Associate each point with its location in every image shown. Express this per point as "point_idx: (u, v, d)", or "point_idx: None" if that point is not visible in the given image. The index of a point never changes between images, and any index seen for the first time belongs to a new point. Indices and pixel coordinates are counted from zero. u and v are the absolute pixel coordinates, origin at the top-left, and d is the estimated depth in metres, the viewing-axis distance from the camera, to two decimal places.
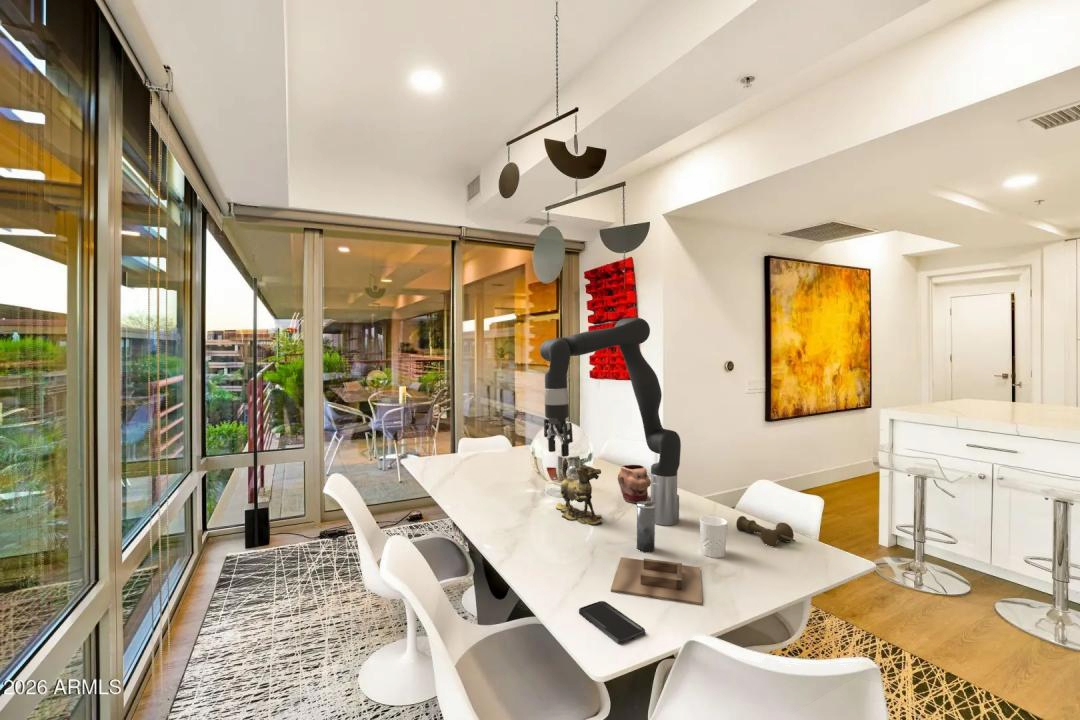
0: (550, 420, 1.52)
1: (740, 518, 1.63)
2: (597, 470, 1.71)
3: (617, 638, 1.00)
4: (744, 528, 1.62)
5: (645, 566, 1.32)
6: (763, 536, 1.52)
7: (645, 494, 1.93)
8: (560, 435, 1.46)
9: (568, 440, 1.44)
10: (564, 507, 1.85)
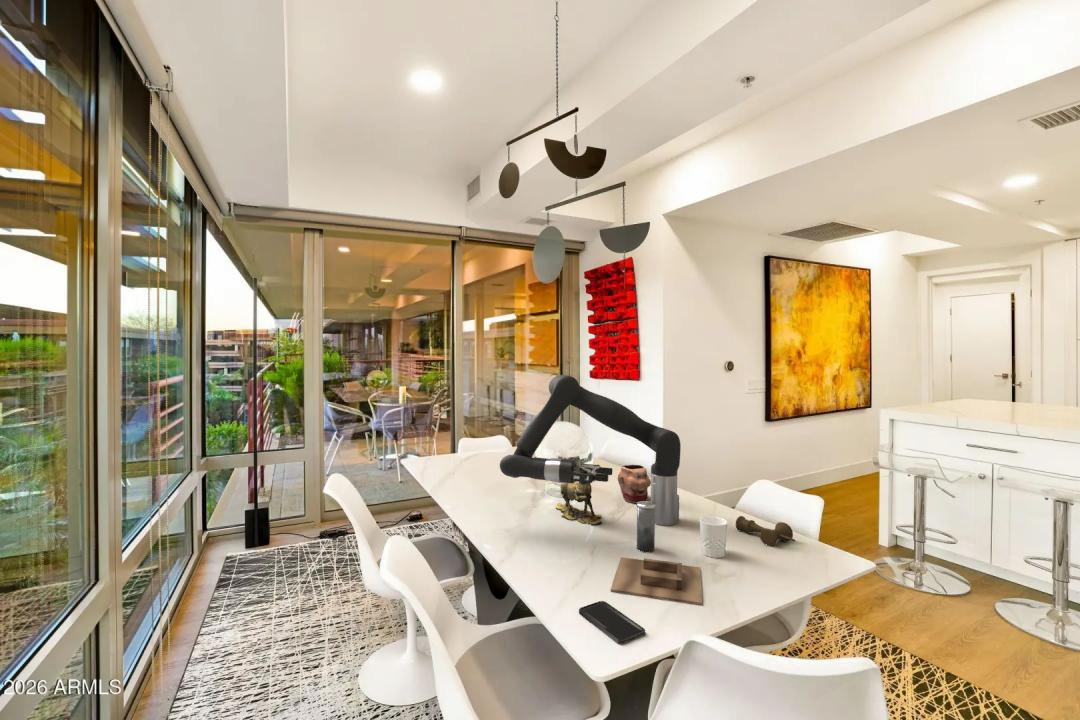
0: None
1: (739, 518, 1.63)
2: None
3: (617, 638, 1.00)
4: (743, 528, 1.62)
5: (645, 566, 1.32)
6: (763, 536, 1.52)
7: (645, 494, 1.93)
8: (587, 479, 1.49)
9: (589, 479, 1.45)
10: (564, 507, 1.85)
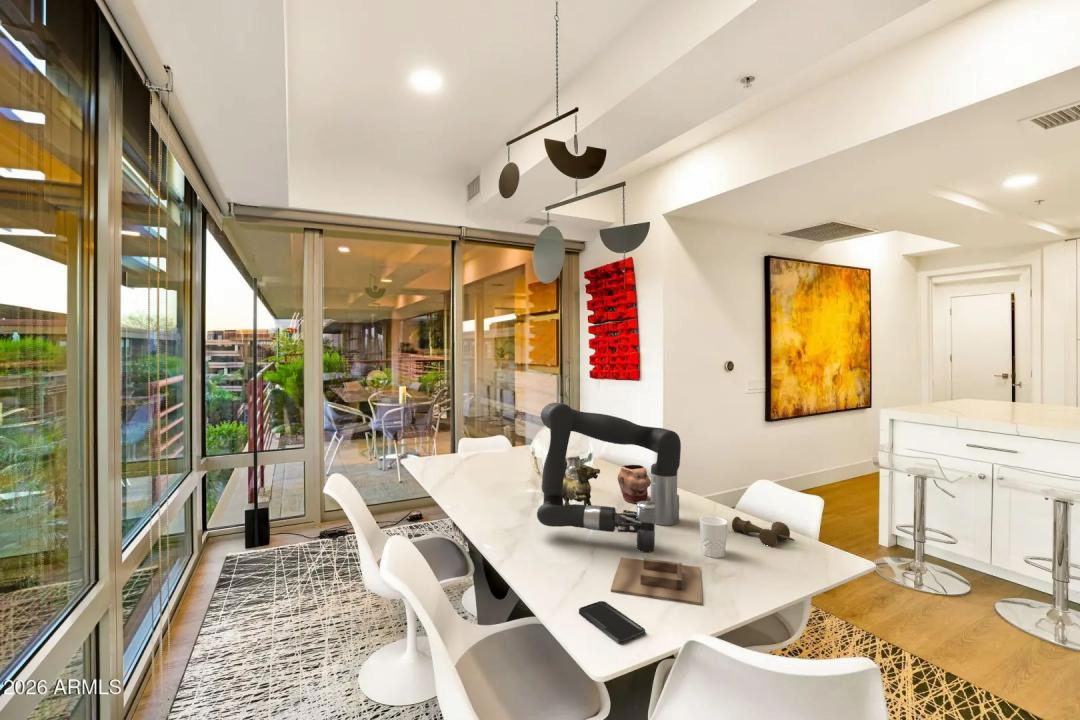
0: None
1: (735, 519, 1.62)
2: (596, 470, 1.72)
3: (617, 638, 1.00)
4: (740, 529, 1.61)
5: (645, 566, 1.32)
6: (762, 537, 1.51)
7: (645, 494, 1.93)
8: (631, 529, 1.46)
9: (635, 529, 1.43)
10: None
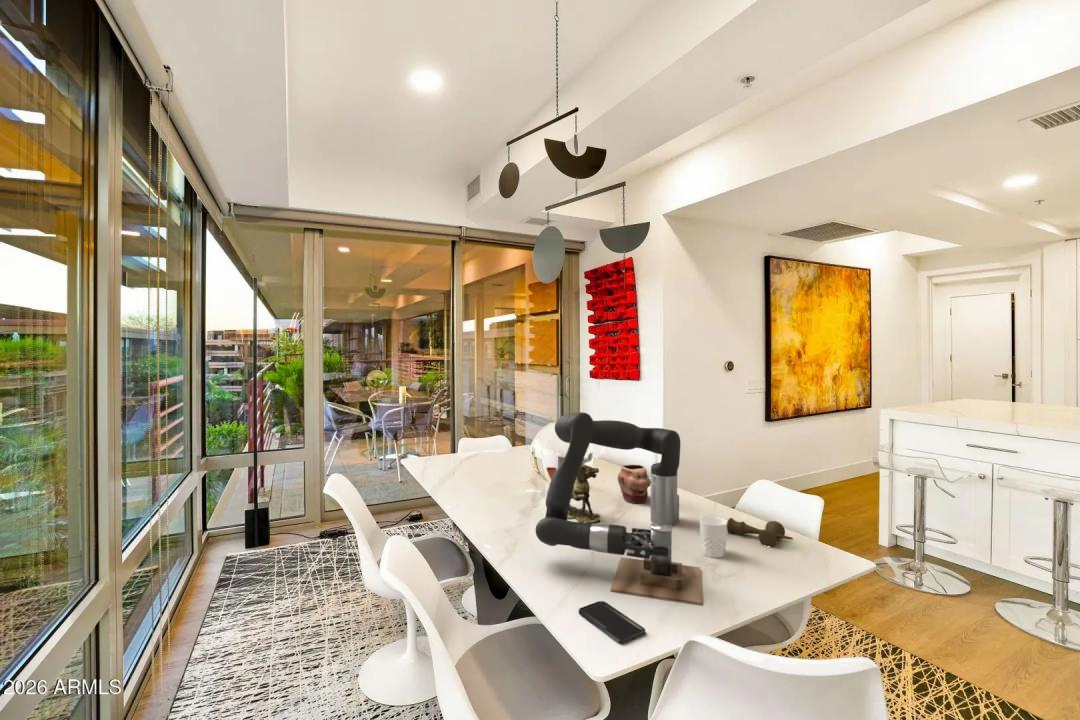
0: None
1: (730, 521, 1.61)
2: (595, 469, 1.73)
3: (618, 638, 1.00)
4: (735, 530, 1.59)
5: (645, 566, 1.32)
6: (762, 537, 1.51)
7: (645, 494, 1.93)
8: (642, 553, 1.25)
9: (646, 554, 1.21)
10: None
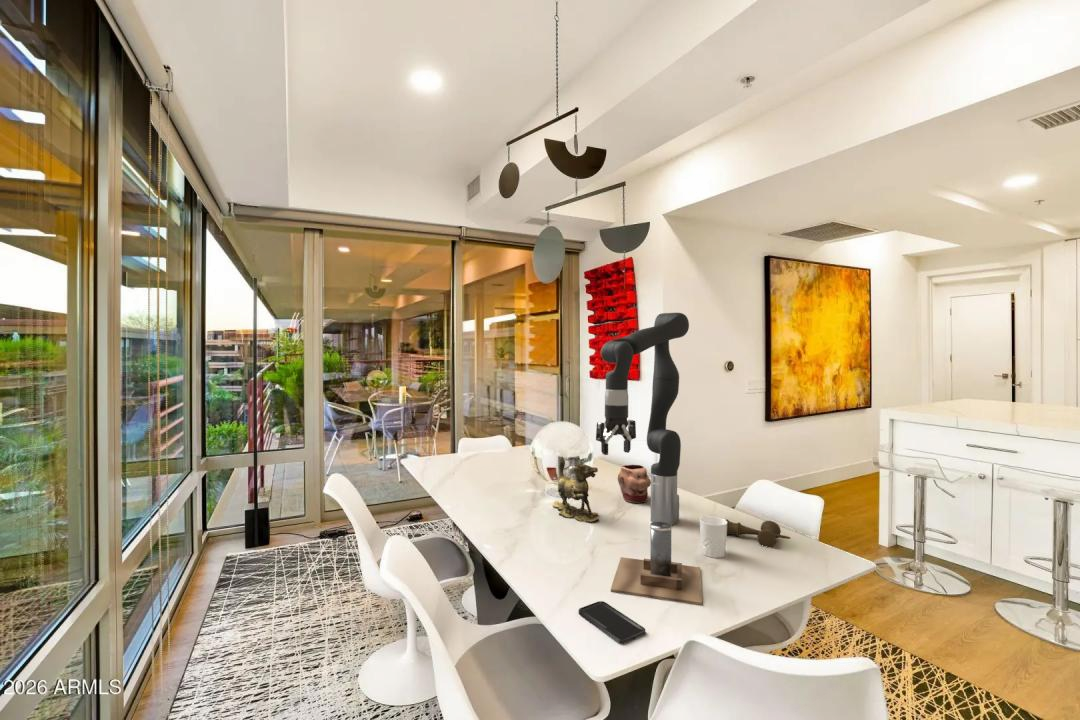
0: None
1: None
2: (594, 468, 1.74)
3: (618, 638, 1.00)
4: (732, 532, 1.58)
5: (645, 566, 1.32)
6: (761, 538, 1.50)
7: (645, 494, 1.93)
8: (604, 433, 1.53)
9: (597, 438, 1.51)
10: (561, 505, 1.87)
